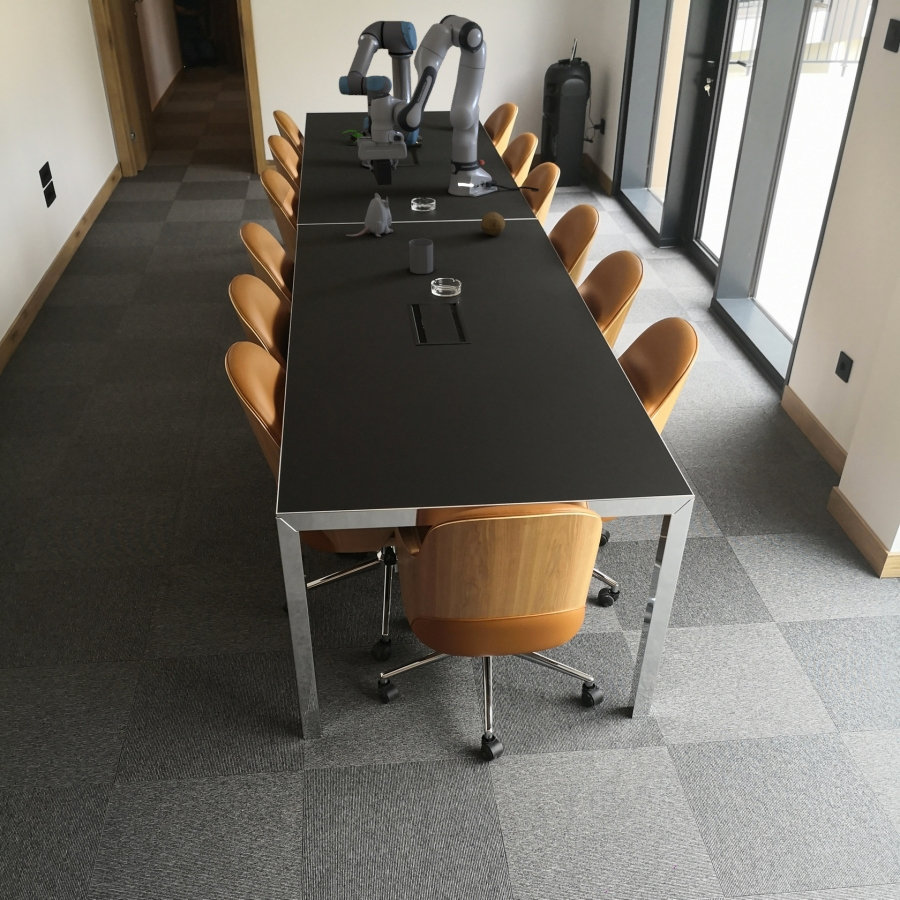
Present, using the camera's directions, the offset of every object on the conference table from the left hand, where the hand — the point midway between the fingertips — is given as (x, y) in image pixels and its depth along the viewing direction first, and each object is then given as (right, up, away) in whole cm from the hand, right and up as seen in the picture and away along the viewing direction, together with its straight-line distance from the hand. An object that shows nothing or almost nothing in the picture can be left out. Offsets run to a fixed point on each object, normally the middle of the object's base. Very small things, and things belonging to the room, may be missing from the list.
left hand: (379, 170), depth 381 cm
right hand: (+3, -5, -17) cm, 18 cm away
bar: (+2, -5, -7) cm, 9 cm away
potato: (+48, -38, -40) cm, 73 cm away
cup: (+21, -59, -72) cm, 96 cm away
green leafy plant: (-13, +43, +86) cm, 97 cm away
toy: (0, -40, -43) cm, 58 cm away
